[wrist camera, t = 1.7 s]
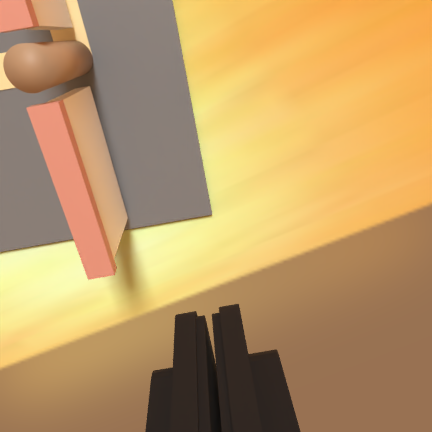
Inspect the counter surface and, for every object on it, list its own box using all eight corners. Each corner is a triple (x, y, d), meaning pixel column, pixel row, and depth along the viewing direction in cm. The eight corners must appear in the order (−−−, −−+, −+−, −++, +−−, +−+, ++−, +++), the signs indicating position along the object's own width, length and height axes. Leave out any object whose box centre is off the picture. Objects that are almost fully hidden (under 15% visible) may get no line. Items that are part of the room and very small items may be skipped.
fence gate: (70, 87, 27) (26, 108, 19) (93, 83, 27) (58, 102, 19) (111, 222, 31) (88, 279, 24) (132, 218, 31) (114, 275, 24)
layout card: (130, -225, 21) (129, -229, 21) (212, 212, 32) (212, 214, 32) (-234, -155, 21) (-241, -158, 21) (-30, 255, 32) (-32, 257, 32)
